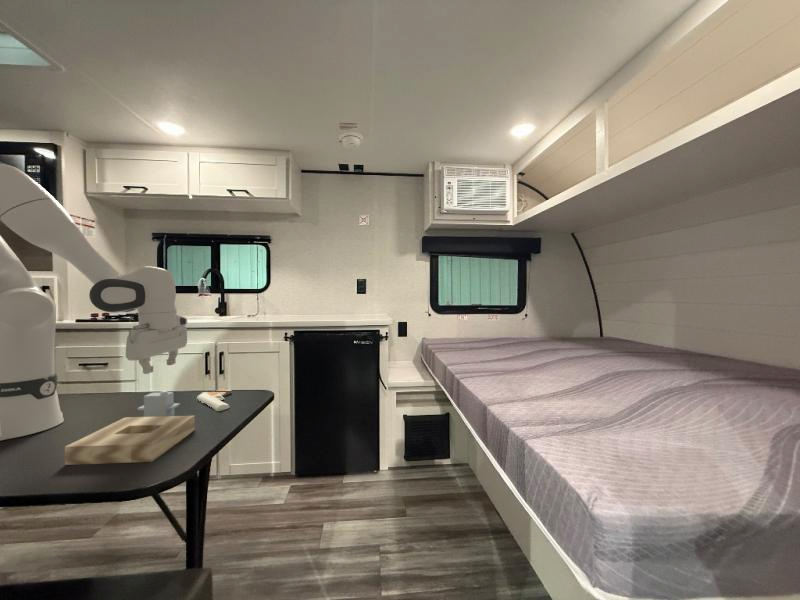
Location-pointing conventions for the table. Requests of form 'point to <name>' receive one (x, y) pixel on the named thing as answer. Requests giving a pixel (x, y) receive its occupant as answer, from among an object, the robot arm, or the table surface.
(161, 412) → the block
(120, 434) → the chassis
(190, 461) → the table surface
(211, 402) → the pistol
